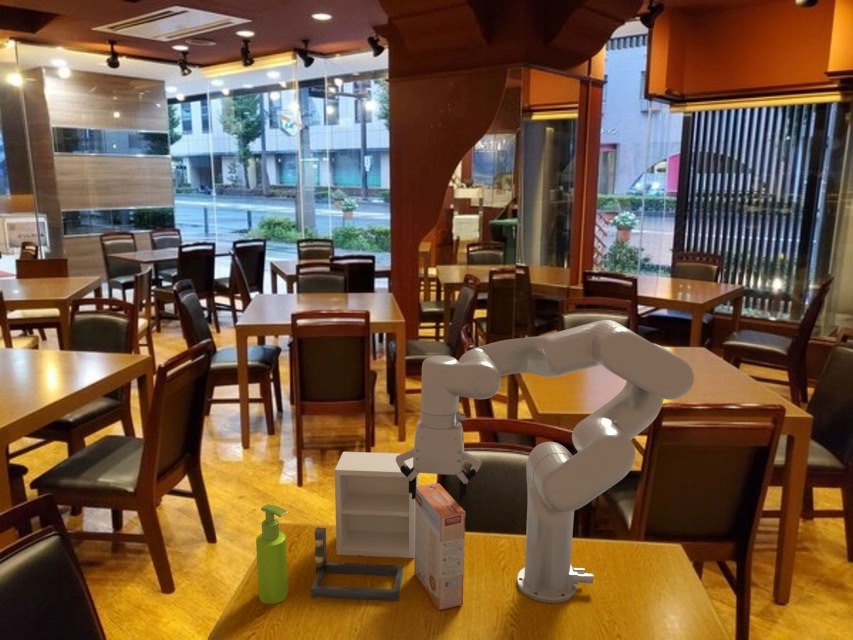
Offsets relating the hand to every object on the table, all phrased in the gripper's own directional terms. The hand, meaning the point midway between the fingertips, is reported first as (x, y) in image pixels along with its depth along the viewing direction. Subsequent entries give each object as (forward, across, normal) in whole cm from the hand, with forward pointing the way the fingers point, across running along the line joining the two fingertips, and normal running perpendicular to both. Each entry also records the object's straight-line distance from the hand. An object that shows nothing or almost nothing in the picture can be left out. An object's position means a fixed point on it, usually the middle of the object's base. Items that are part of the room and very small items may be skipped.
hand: (437, 497), depth 131 cm
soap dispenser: (+22, +33, +5) cm, 40 cm away
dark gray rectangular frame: (+21, +16, 0) cm, 27 cm away
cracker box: (+21, -1, 0) cm, 21 cm away
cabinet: (+21, +14, -16) cm, 30 cm away
